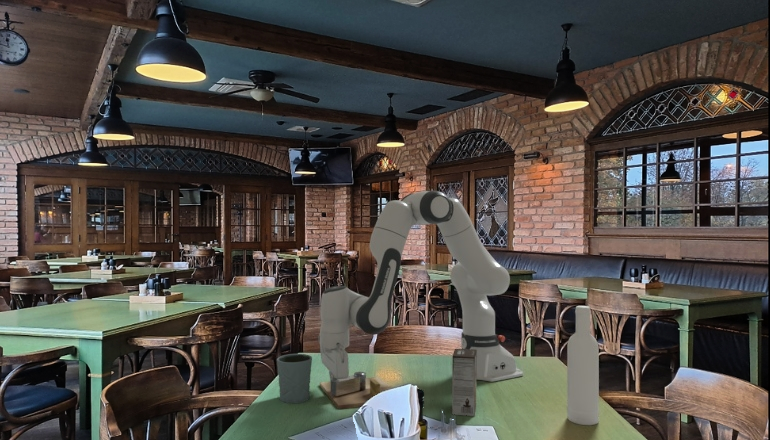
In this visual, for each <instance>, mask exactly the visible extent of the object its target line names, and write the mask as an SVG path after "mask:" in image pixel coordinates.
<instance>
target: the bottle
mask: <svg viewBox="0 0 770 440" xmlns="http://www.w3.org/2000/svg"><path fill="white" fill-rule="evenodd" d="M574 313H575V332H574V333H573V334H572V335H571V336H570V337H569V338H568V342H567V347H566V348H567V353H566V355H567V356H566V357H567V359H566V361H567V362H566V363H567V364H566V365H567V366H566V367H567V368H566V369H567V371H566V373H567V375H566V376H567V380H566V381H567V383H566V385H567V388H566V390H567V391H566V393H567V395H566V396H567V399H566V401H567V402H566V404H567V405H566V413H567V414H566V415H567V420H569V421H570V422H571V423H574V424H577V425H583V426H594V425H597V424H598V423H599V422H600V421H599V419H600V409H599V408H600V407H599V406H600V404H599V403H600V400H599V399H600V396H599V391H600V390H599V386H600V385H599V383H600V379H599V376H600V375H599V373H600V371H599V369H600V368H599V363H600V362H599V361H600V359H599V358H600V357H599V356H600V355H599V344H598V340H597V339H596V337H594V336H593V335H592V334H591V313H592V312H591V306H588V305H577V306H576V307H575V311H574Z"/></svg>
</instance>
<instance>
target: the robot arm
mask: <svg viewBox="0 0 770 440" xmlns="http://www.w3.org/2000/svg"><path fill="white" fill-rule="evenodd" d="M414 225H419V226H426V225H437V227H438V229H439V231H440V233H441V236H442V238H443V241H444V243H445V245H446V248H447V249H448V251H449V253H450V255H451V257H452V258H453V259H455V260H456V261H457V263H456V264H455V265H453V267H452V268H451V270H450V274H449V275H450V277H449V278H450V281H451V283H452V285H453V287H455V289H456V292H457V295H458V298H459V302H460V306H461V310H462V311H461V312H462V332H461V335H460V336H461V338H460V342H461V343H460V345H461V349H476V350H477V375H476V381H477V380H479V381H485V382H493V383H494V382H497V381H499V382H500V381H503V380H508V379H513V378H518V377H523V376H524V372H523V370H521V369H519V368H518V367H517V363H516V359H515V357H514V355H513V354H512V353H511V352H509V351H508V350H507V349H506V348H505V347H503V346H502V345H501V344H500V342H502V343H504V342H505V340H506V337H505V336H504V335H501V334H500V335H498V334H496V311H495V310H494V308H493V307H492V306H491V303H490V302H489V299H488V297H487V296H489V297H490V296H497V295H498V296H499V295H502V294H505V292H507V290H508V288H509V286H510V282H511V276H510V273H509V271H508V270H507V269H506V267H504V266H503V265H501V264H499V262H498V261H497V260H495V258H494V257H493V256H492V255H491V254H490V253H489V251H488V250H487V248H486V247H485V245H484V244H483V243H482V241H481V239H480V237H479V235H478V233H477V230H476V229H475V226H474V224H473V222H472V219H471V217H470V215H469V214H468V212H467V211H466V208H465V207H464V205H463V203H461V201H460V200H459V199H458V198H454V197H448V196H447V194H445V193H443V192H441V191H438V190H422V191H418V192H414V193H412V192H411V193H409V194H407V195H405V196H403V197H402V198H401V200H398V199H397V200H396V199H395V200H389V201H388V202H387V203H386V204H385V205H384V207H383V208H382V211H381V212H380V214H379V216H378V218H377V220H376V223H375V224H374V227H373V230H372V233H371V236H370V240H369V250H370V253H371V255H372V256H373V257H374V259H375V261H376V264H377V272H376V275H375V279H374V283H373V286H372V288H371V289H372V290H371V293H370V295H369V296H365V295H363V294H360V293H357V292H355V291H353V290H351V289H349V288H348V287H347V286H346V285H335V286H331V287H328V288H326V289H324V290H323V292H322V295H321V299H320V307H319V309H320V312H319V313H320V314H319V315H320V320H321V325H320V329H319V334H318V343H319V347H320V348H319V349H320V359H321V364H322V365H323V366H324V367H325V368H326V369H327V371H328V374H329V378H330V381H329V382H330V384H331V380H335V379H346V378H348V376H350V372H349V371H350V369H349V368H350V367H349V366H350V365H349V363H350V361H349V354H348V351H346V348H347V347H349V346H350V328H351V327H356V328H358V329H360V330H361V331H362V332H364V333H365V334H367V335H372V336H374V335H378V334H381V333H383V332H384V331H385V330H386V329H387V328H388V326H389V325H390V322H391V319H392V313H391V312H392V307H391V305H392V299H393V295H394V292H395V288H396V285H397V281H398V277H399V274H400V268H401V264H402V257H403V252H404V249H405V245H406V242H407V240H408V236H409V233H410V231H411V229H412V227H413V226H414Z"/></svg>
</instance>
